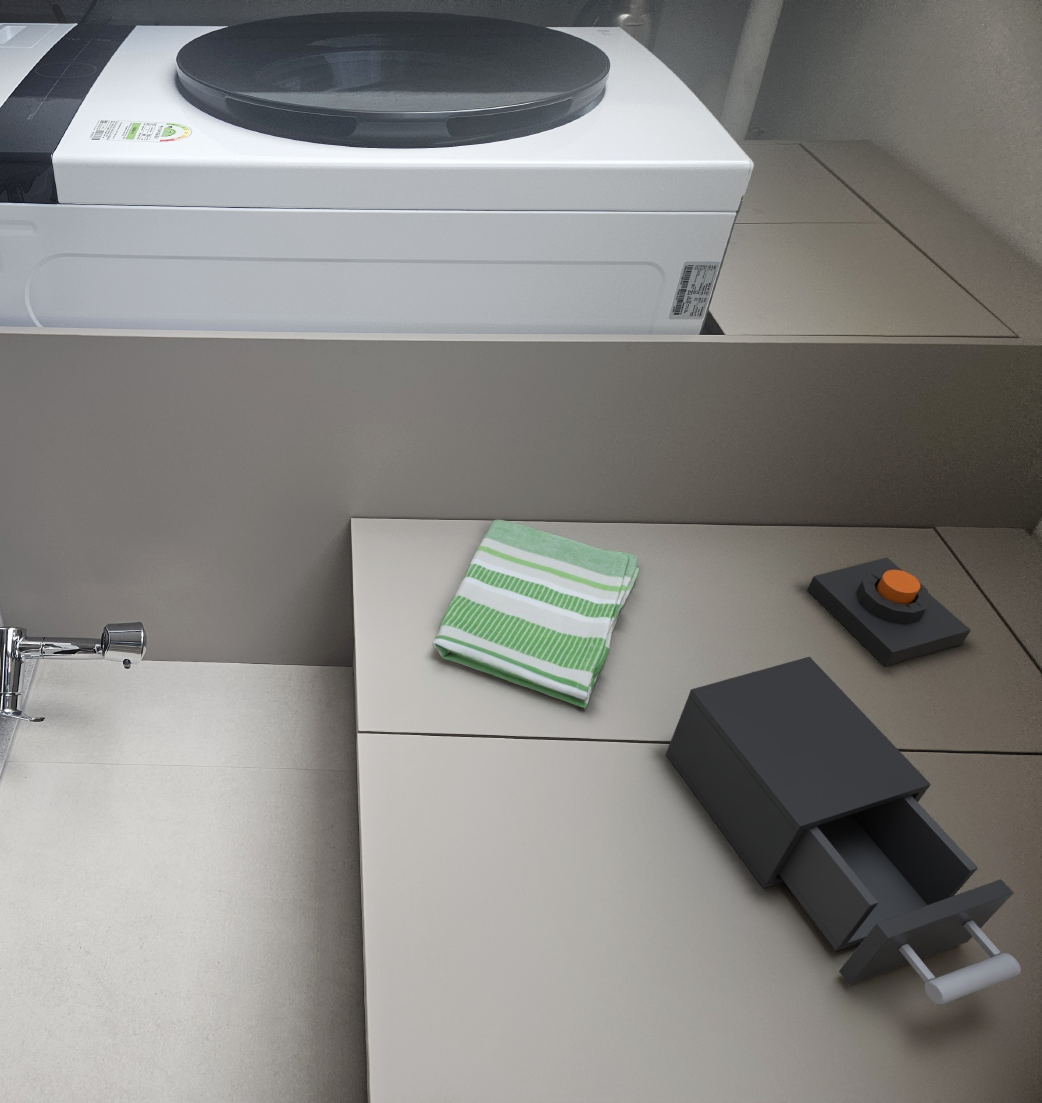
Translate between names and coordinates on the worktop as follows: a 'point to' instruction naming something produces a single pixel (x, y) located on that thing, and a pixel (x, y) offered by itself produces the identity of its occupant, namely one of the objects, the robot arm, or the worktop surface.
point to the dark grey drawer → (897, 896)
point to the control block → (886, 614)
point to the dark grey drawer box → (784, 760)
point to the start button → (898, 586)
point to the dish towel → (537, 610)
